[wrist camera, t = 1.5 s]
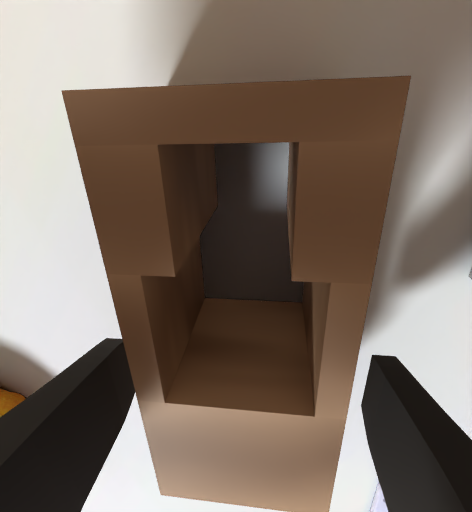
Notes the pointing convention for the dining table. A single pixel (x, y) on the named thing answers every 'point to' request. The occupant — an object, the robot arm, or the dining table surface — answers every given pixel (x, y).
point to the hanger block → (233, 310)
